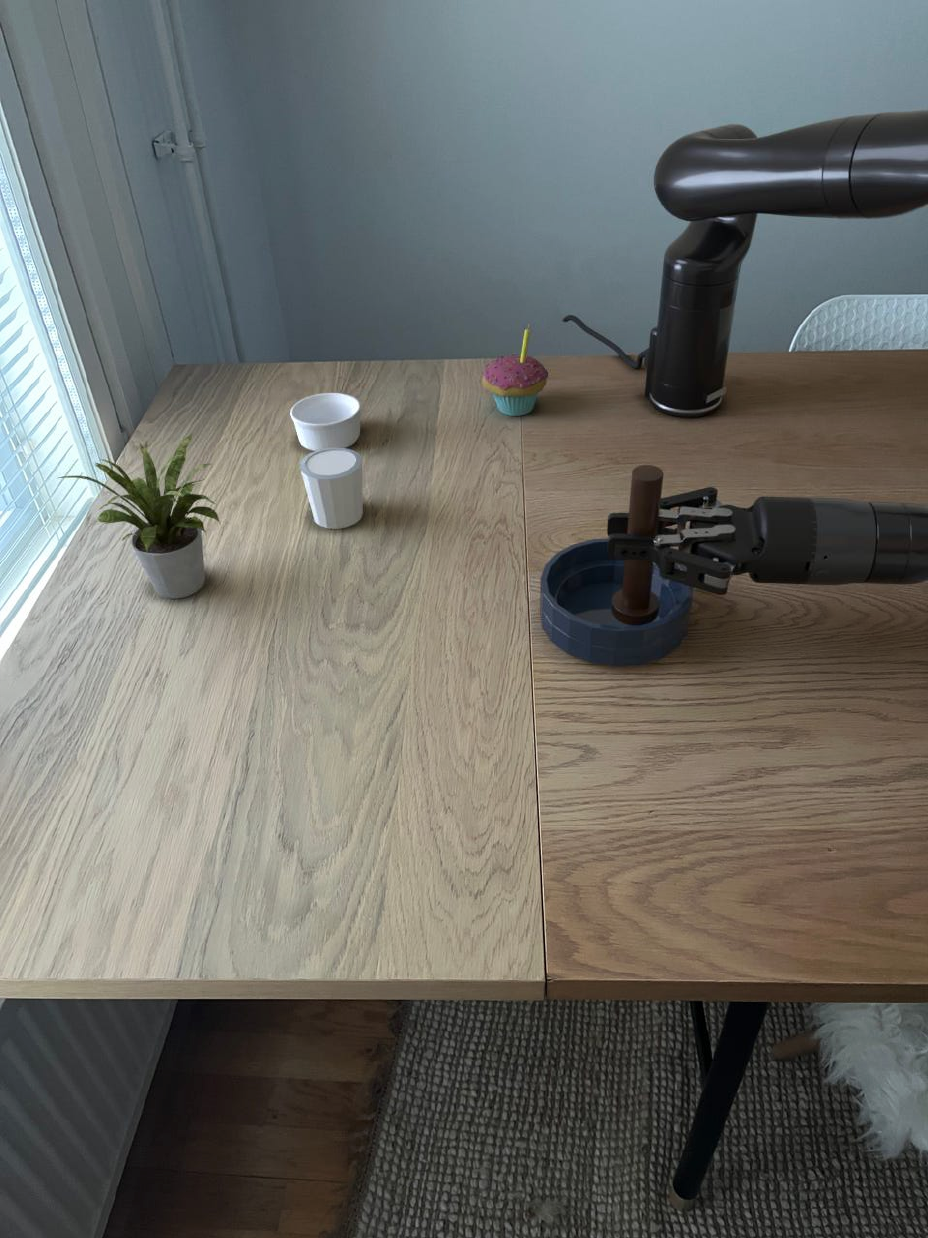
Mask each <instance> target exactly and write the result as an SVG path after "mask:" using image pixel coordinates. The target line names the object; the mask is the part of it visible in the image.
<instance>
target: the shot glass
mask: <svg viewBox="0 0 928 1238" xmlns="http://www.w3.org/2000/svg"><path fill="white" fill-rule="evenodd" d="M299 468H300V473H301V476H302V479H303V483H304V487H305V490H306V491H305V492H306V494H307V497H308V501H309V505H310V509H311V512H312V516H313V520H314V523H316V524H317V525H318V526H319V527H321V528H325V529H327V530H328V529H329V530H339V529H346V528H349V527H351V526H354V525H355V524H357V523H358V522H359V521H360V520H361V519H362V517H363V515H364V505H363V504H364V503H363V459H362V456H361V455H360V454H359V453H358V452H356V451H355V450H353V449H350V448H334V447H332V448H326V449H320V450H317V451H312V452H310V453H309V454H307V455H306V456H304V457H303V458H302V459H301V460H300V463H299Z"/></svg>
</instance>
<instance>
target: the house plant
mask: <svg viewBox="0 0 928 1238" xmlns="http://www.w3.org/2000/svg"><path fill="white" fill-rule="evenodd" d="M194 434H195V432H193V433H191V434H189V435H188V436H186V437H185V438H184V439H183V440H182V441H181V442H180V444H179V445H178V447H177V448H176V450H175V452H174V454H173V456H172V457H171V458H170V459H168V461H167V462H166V463H165V464H164V465H163V466H162V468H161V469H160V471H159V473H158V474H157V470H156V467H155V463H154V461H153V459H152V456H151V455H150V453H149V451H148V440H146V441H145V444H144V445H143V444H142V443H141V442H139V447H140V452H141V453H142V463H143V470H144V477H145V478H144V479H145V480H144V479H143V478H141V477H135V478H133V479H131V478H130V477H129V476H128V474H127V473H126V471H125V470H124V469H123V468H122V467H121V466H120V465H118V464H116V463H115V462H113V461H110V460H107V459H101V458H99V460H100V461H103V462H106V463H108V464H109V465H111V466H113V468H115V469H116V470H117V471H118V472H119V473H118V472H116V471H115V470H114V469H113V468H110V467H109V466H108V465H105V464H103V463H98V462H93V465H94V466H96V467H97V468H98V469H99V470H100V471H102V472H104V473H106V474H107V476H108V477H109V478H110V479H111V480H112V481H113V482H115V483H117V484H118V485H119V486H120V487H122V488H123V489H124V491H126V492H127V494H122V495H121V494H120V493H118V492H116V491H115V490H114V489H112V488H111V487H109V486H108V485H107V484H104V483H103V482H101V481H99V480H98V479H94V478H92V477H91V476H85V475H64V476H59V477H58V479H68V478H70V479H73V478H74V479H75V478H76V479H83V480H88V481H91V482H93V483H96V484H98V485H100V486H102V487H103V488H105V489H106V490H108V491H109V492H111V493H112V494H114V495H115V496H113V497H112V498H111V499H110V500H108V501H107V503H105V504H103V505H102V506H100V508H99V509H98V511H100V510H101V509H103V508H105V507H107V506H108V505H114V506H117V507H118V508H120V509H122V510H124V511H121V510H117V509H112V508H111V509H110V508H109V509H105V510H103V511H102V512H101V513H99V515H98V517H97V518H96V521H95V522H96V523H97V522H100V523H103V524H102V526H104V525H108V524H114V523H125V522H126V523H128V524H130V525H133V526H135V527H136V529H135V531H134V532H132V533H127V534H126V535H124V536H123V537H122V539H121V540H120V542H122V541H124V540H126V539H127V538H129V537H130V536H131V537H130V547H131V548H132V550H133V551H134V554H135V555H136V557H137V559H138V561H139V563H140V564H141V567H142V569H143V571H144V572H145V575H146V576H147V577H148V580H149V581H150V583H151V585H152V586H153V589H154V590H155V592H156V594H157V595H158V596H160V597H162V598H165V599H174V600H175V599H182V598H186V597H189V596H191V595H193V594H196V593H198V591H199V590H200V589H202V588H203V586H204V584H205V581H206V579H205V563H204V546H203V532H204V533H205V534H207V531H206V530H205V526H204V522H203V521H202V520H201V519H200V518H199V517H198V516H192V517H191V516H190V517H189V516H188V515H189V514H197V515H201V516H204V517H207V518H210V519H214V520H215V521H217V522H218V523H219V524H220V525H221V522H220V519H219V516H218V513H217V512H216V511H215V509H214V508H211V507H209V506H203V505H202V506H200V505H199V506H193V505H194V504H195V503H196V502H197V501H200V500H206V501H207V502H210V503H212V504H214V505H216V503H215V502H214V500H212V499H210V498H209V497H208V496H206V495H204V494H198V493H192V492H193V489H194V488H195V486H196V485H197V482H198V483H199V482H201V481H204V480H205V478H203V479H198V480H194V481H193V480H192V481H190V480H191V478H192V477H193V476H194V475H195V474H196V473H197V472H199V471H201V470H202V469H204V468H206V467H208V466H210V465H211V463H204V464H200V465H199V466H197V467H196V468H194V469H193V470H192V471H190V473H189V474H188V475H187V477H186V478H184V480H183V481H182V484H180V486H178V487H177V484H178V481H179V477H180V474H181V472H182V469H183V466H184V465H185V462H186V458H187V457H186V456H187V448H188V447H189V444H190V443H191V440H192V438H193V436H194ZM166 469H167V470H166ZM165 470H166V473H165ZM164 473H165V476H164V489H163V490H164V491H163V494H162V495H161V489H160V482H161V479H162V476H163V474H164ZM157 475H158V476H157ZM118 498H120V499H122V501H124V502H126V503H127V504H128V505H130V506H131V507H132V508H134V509H135V510H136V511H137V512H138V513H139V514H140V515H141V516H143V518H144V519H145V520H146V521H145V520H143V518H141V517H140V516H139V515H138V514H137V513H135V511H133V510H131V509H130V507H129V506H126V505H124V504H122V503H119V502H114V501H116V500H117V499H118ZM130 501H131V502H132V503H131V502H130ZM134 504H135V505H136V506H137V507H138V508H137V507H136V506H135V505H134ZM174 504H175V505H174Z"/></svg>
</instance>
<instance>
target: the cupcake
mask: <svg viewBox="0 0 928 1238" xmlns="http://www.w3.org/2000/svg"><path fill="white" fill-rule="evenodd" d="M527 325H528V326H527V328H525V330H524V334H523V339H522V340H523V341H522V348H521V353H520V354H508V355H505V354H504V355H501V356H498V357H496V358H495V359H493V360H492V361H490V362H489V363H487V365H485V366H484V367H485V368H484V370H483V372H482V373H483V375H482V386H483V388H484V389H485V390H486V391H488V392H490V393H491V394H492V396H493V398H494V401H495V404H496V407H497V410H498V411H499V412H500V413H501V414H503V415H505V416H511V417H521V416H524V415H528V414H529V413H531V412H532V411H533V409H534V407H535V404H536V400H537V398H538V395H539V394H540V392H542V391H543V390H544V388H545V386H546V385H547V381H548V380H547V379H548V378H549V371H548V370H547V369H546V368H545V367H544V364H542V362H541V361H539V360H538V359H536V358H535V357H532V356H529V355H527V353H528V347H529V346H528V345H529V341H530V335H531V329H530V328H531V323H528V324H527Z"/></svg>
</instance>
